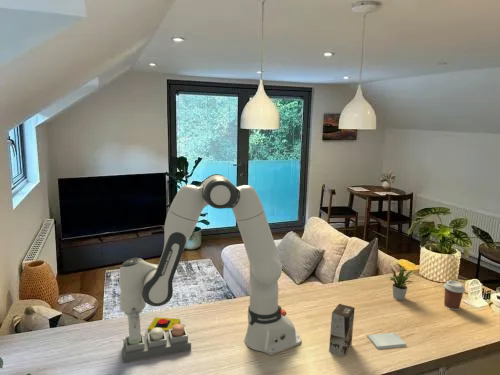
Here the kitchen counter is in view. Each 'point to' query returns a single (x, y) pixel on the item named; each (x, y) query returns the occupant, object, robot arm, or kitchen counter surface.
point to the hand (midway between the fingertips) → (134, 337)
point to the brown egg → (178, 330)
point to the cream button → (156, 334)
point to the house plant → (400, 283)
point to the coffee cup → (453, 294)
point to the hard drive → (386, 340)
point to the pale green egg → (134, 341)
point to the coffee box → (341, 329)
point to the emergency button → (163, 324)
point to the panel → (156, 346)
